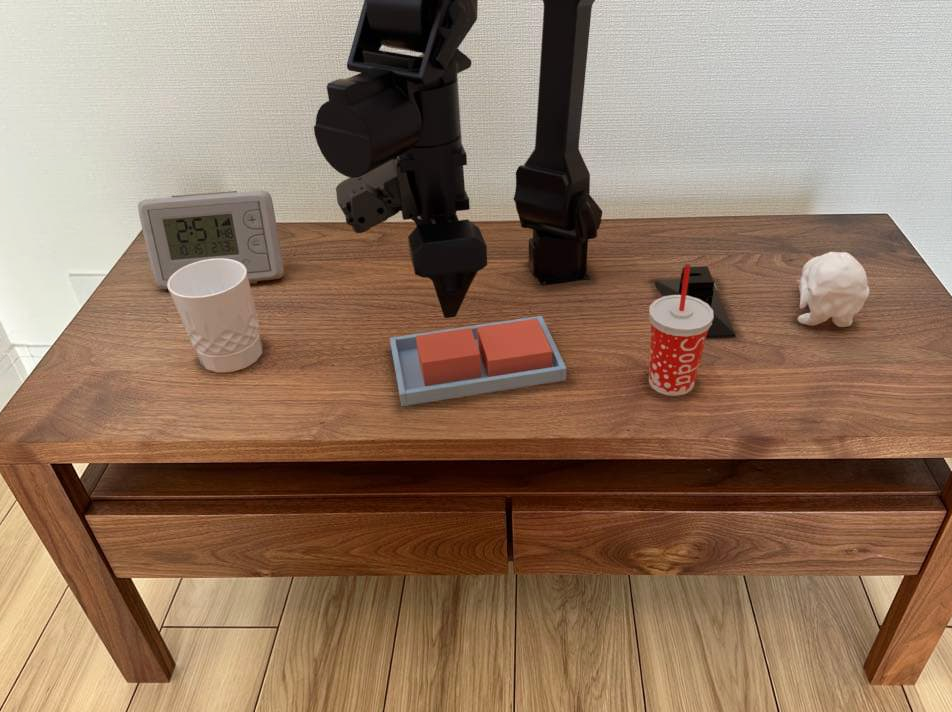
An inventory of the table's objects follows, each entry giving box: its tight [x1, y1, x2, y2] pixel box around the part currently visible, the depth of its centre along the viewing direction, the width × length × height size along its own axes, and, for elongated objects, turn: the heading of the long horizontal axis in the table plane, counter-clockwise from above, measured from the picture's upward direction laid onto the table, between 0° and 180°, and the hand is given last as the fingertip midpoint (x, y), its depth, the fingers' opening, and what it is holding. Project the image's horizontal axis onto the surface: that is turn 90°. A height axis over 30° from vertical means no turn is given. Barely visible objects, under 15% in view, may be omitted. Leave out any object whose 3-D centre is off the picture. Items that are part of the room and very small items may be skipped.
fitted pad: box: [477, 319, 552, 377], centre depth 81 cm, size 7×6×2 cm
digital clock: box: [137, 190, 285, 290], centre depth 95 cm, size 16×9×11 cm, turn 86°
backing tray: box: [389, 315, 568, 407], centre depth 81 cm, size 17×10×2 cm, turn 103°
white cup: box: [167, 258, 263, 374], centre depth 81 cm, size 8×8×10 cm
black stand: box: [654, 265, 737, 339], centre depth 88 cm, size 12×7×5 cm, turn 1°
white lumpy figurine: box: [796, 251, 870, 328], centre depth 86 cm, size 6×8×12 cm
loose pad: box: [416, 328, 481, 386], centre depth 80 cm, size 6×5×3 cm
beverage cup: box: [648, 263, 714, 397], centre depth 74 cm, size 6×6×14 cm
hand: (442, 292), depth 75 cm, fingers open, 9 cm apart
